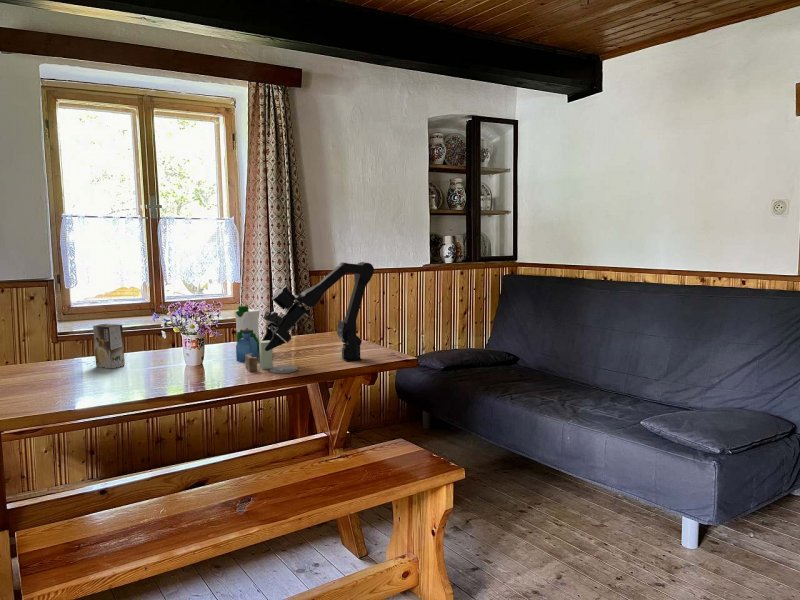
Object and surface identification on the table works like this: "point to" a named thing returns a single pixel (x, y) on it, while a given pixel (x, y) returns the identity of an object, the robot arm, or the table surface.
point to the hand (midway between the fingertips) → (263, 348)
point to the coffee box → (109, 345)
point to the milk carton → (247, 322)
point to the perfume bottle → (246, 346)
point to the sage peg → (265, 355)
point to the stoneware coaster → (283, 369)
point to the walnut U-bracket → (250, 362)
